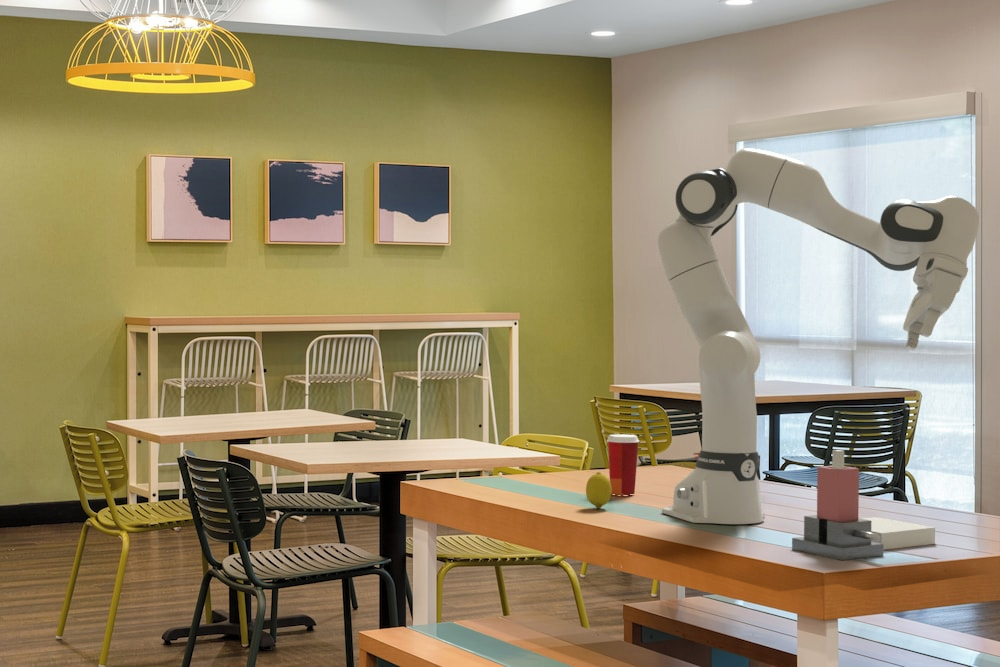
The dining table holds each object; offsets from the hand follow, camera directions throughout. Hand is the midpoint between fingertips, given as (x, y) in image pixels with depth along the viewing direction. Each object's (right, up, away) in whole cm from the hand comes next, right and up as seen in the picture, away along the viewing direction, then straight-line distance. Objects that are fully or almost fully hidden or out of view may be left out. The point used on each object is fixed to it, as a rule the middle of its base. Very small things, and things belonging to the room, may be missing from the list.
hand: (917, 342), depth 234 cm
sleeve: (-20, -31, -16) cm, 40 cm away
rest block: (-8, -37, -3) cm, 38 cm away
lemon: (-58, -37, +34) cm, 76 cm away
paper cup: (-50, -37, +57) cm, 84 cm away
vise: (-19, -37, -17) cm, 45 cm away
